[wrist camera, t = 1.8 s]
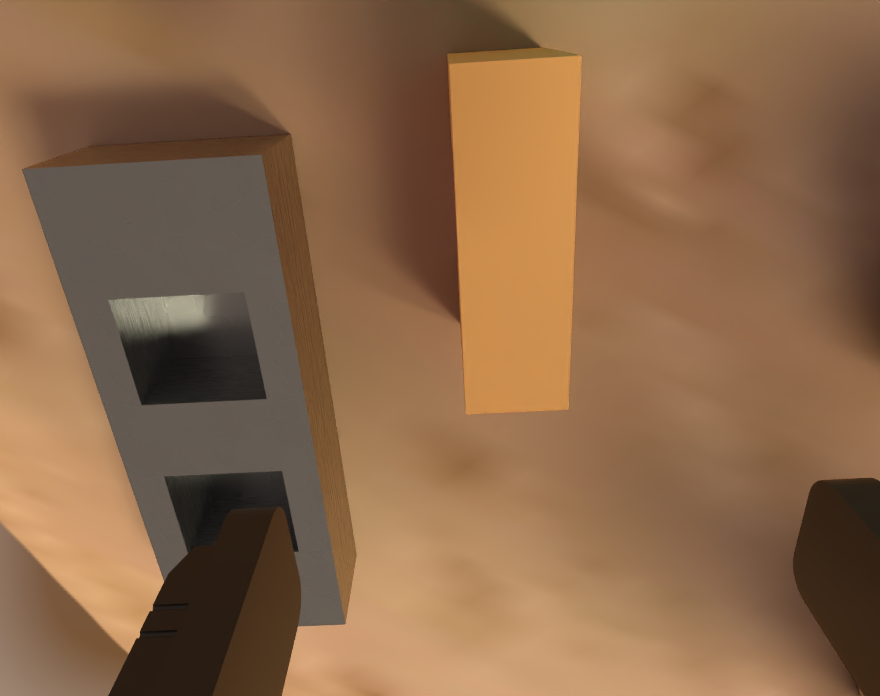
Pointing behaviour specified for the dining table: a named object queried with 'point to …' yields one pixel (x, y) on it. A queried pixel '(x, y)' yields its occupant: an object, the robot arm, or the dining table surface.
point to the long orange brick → (515, 223)
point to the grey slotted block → (206, 342)
